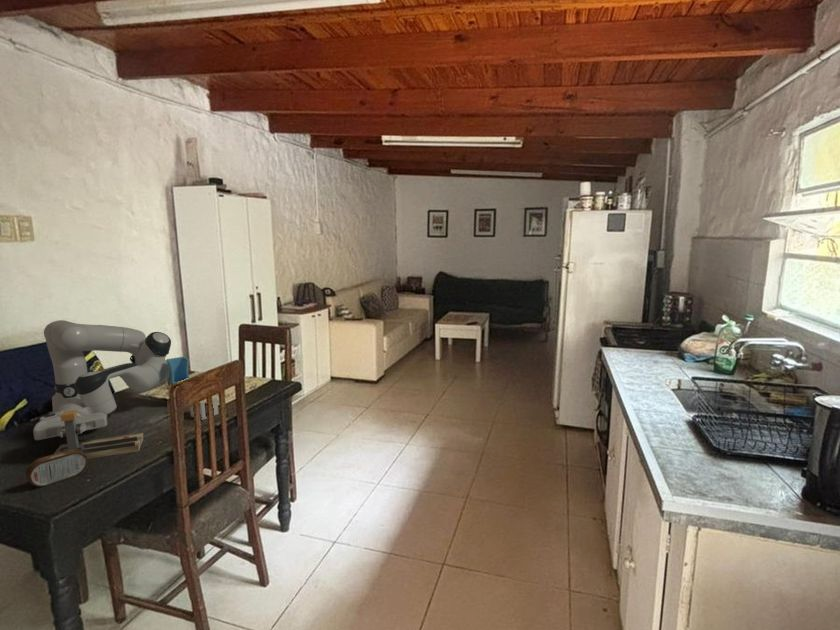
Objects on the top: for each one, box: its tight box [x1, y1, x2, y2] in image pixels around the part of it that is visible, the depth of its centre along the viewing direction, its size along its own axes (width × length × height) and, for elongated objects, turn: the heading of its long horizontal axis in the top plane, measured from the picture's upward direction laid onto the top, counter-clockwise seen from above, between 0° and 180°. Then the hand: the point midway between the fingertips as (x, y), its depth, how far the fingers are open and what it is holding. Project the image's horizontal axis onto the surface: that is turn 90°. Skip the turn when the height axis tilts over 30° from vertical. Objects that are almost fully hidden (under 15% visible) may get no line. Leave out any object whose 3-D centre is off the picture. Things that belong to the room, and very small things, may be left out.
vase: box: [165, 356, 190, 387], centre depth 208 cm, size 8×8×20 cm
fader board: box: [53, 432, 145, 460], centre depth 163 cm, size 12×25×3 cm, turn 112°
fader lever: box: [61, 410, 84, 452], centre depth 157 cm, size 4×5×14 cm
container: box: [189, 395, 219, 421], centre depth 194 cm, size 8×8×13 cm
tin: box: [25, 449, 89, 488], centre depth 143 cm, size 15×3×8 cm, turn 141°
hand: (71, 433), depth 156 cm, fingers closed on fader lever, 3 cm apart
